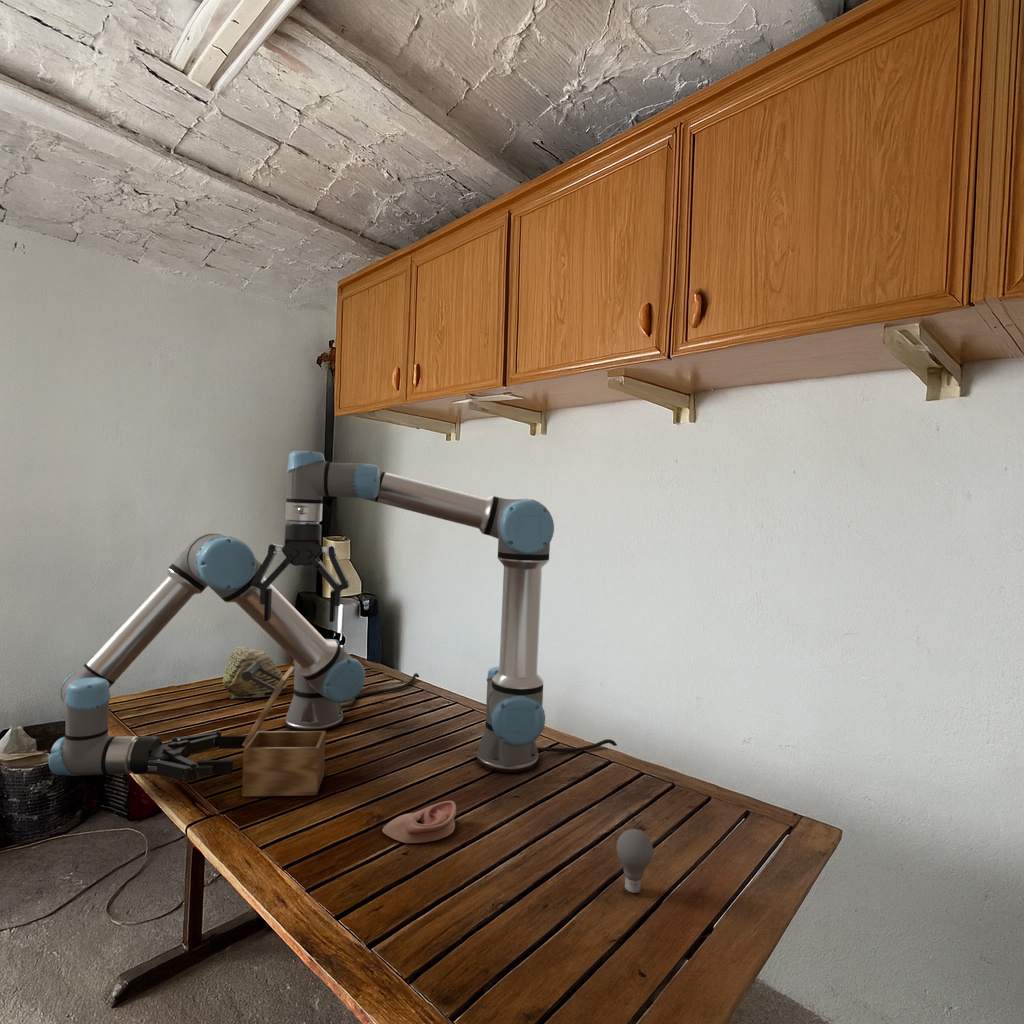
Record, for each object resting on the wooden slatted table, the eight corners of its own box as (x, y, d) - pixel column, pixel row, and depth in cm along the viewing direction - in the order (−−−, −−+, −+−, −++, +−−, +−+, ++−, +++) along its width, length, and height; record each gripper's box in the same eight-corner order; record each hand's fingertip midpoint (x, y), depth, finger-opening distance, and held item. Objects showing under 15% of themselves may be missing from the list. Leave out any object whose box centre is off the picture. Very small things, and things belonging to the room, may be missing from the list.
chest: (324, 774, 144) (325, 730, 144) (316, 795, 134) (318, 748, 134) (254, 775, 142) (256, 731, 142) (241, 796, 132) (243, 748, 132)
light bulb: (610, 879, 108) (613, 822, 108) (644, 879, 109) (647, 822, 109) (619, 902, 102) (622, 840, 102) (655, 901, 103) (658, 840, 103)
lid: (294, 667, 143) (261, 650, 142) (285, 680, 133) (248, 661, 132) (258, 729, 142) (224, 712, 141) (245, 747, 132) (208, 728, 131)
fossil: (218, 695, 195) (220, 647, 195) (278, 685, 208) (279, 640, 207) (228, 703, 189) (230, 653, 188) (289, 692, 201) (290, 645, 201)
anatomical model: (376, 817, 118) (399, 790, 129) (375, 838, 118) (398, 809, 129) (444, 828, 115) (461, 799, 127) (443, 849, 115) (461, 819, 127)
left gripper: (159, 749, 146) (255, 748, 149) (106, 801, 121) (223, 798, 124) (160, 717, 146) (257, 716, 149) (107, 762, 121) (224, 760, 124)
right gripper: (238, 521, 132) (234, 622, 132) (360, 525, 135) (356, 624, 136) (248, 519, 139) (244, 615, 140) (363, 524, 143) (360, 617, 143)
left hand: (241, 753), depth 137 cm, fingers open, 13 cm apart
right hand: (299, 620), depth 138 cm, fingers open, 13 cm apart
